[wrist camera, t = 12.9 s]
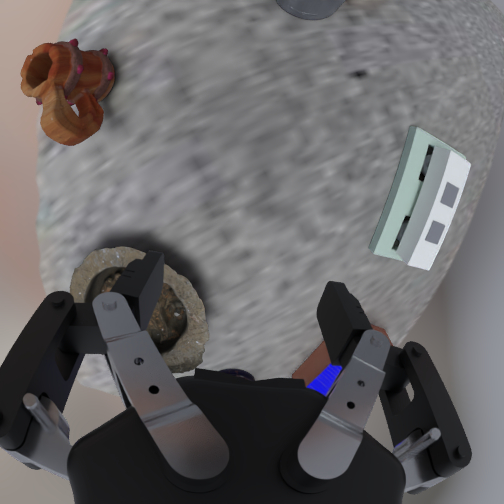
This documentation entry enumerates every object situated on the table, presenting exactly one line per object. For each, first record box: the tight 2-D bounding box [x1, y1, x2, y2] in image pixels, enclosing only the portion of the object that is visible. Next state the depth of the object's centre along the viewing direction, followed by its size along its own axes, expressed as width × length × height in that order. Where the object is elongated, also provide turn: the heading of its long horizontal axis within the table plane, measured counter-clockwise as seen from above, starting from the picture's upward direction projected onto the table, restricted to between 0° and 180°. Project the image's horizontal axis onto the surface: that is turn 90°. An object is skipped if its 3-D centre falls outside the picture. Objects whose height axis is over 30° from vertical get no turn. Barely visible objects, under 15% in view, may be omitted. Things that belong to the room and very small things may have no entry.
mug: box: [21, 39, 115, 146], centre depth 22 cm, size 15×8×15 cm, turn 19°
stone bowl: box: [70, 246, 209, 373], centre depth 41 cm, size 25×25×9 cm
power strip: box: [396, 146, 471, 270], centre depth 34 cm, size 18×5×7 cm, turn 167°
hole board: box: [369, 126, 466, 261], centre depth 37 cm, size 21×12×2 cm, turn 167°
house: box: [292, 325, 393, 395], centre depth 48 cm, size 12×20×12 cm, turn 154°
